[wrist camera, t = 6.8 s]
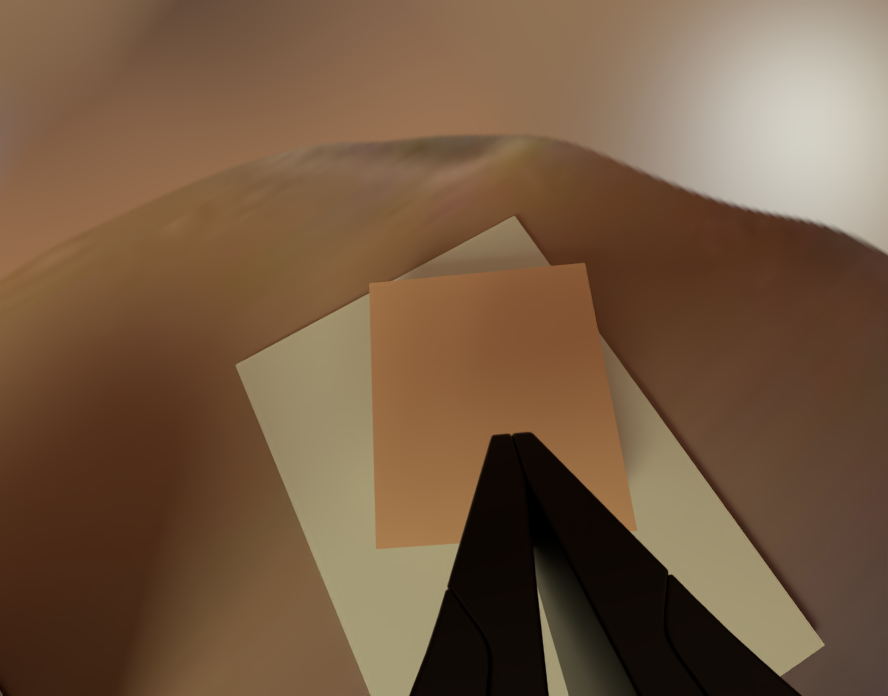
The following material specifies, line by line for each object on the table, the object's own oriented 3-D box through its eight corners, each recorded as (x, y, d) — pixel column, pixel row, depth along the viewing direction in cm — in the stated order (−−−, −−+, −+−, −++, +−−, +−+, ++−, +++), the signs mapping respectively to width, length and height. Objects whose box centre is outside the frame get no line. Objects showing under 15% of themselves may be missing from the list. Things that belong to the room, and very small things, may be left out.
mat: (456, 888, 11) (456, 903, 11) (240, 366, 16) (235, 365, 16) (813, 638, 12) (824, 645, 12) (513, 220, 17) (514, 215, 17)
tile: (637, 530, 11) (584, 262, 13) (375, 549, 11) (369, 283, 14) (607, 516, 13) (567, 289, 16) (390, 531, 14) (382, 306, 16)
